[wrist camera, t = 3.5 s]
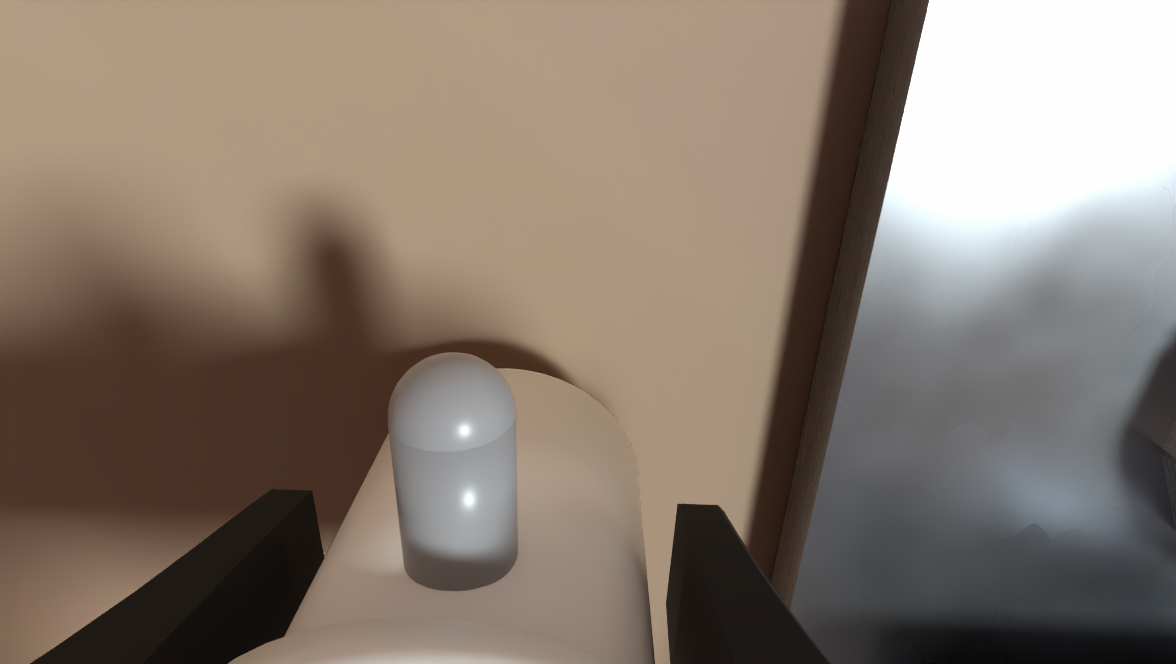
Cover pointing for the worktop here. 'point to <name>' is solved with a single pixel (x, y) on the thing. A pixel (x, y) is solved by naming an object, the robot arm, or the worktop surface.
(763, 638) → the robot arm
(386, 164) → the worktop surface
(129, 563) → the worktop surface
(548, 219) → the worktop surface
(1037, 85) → the motor mount
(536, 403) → the white mushroom knob
